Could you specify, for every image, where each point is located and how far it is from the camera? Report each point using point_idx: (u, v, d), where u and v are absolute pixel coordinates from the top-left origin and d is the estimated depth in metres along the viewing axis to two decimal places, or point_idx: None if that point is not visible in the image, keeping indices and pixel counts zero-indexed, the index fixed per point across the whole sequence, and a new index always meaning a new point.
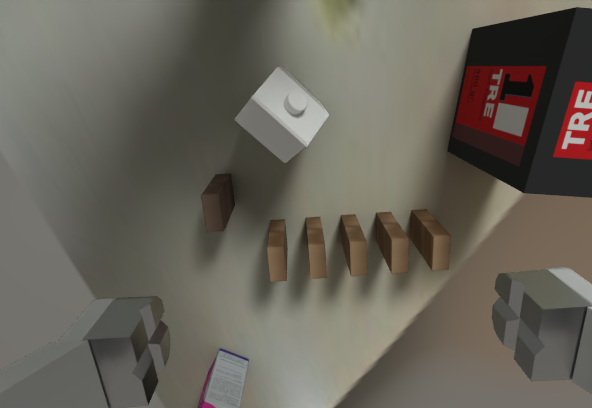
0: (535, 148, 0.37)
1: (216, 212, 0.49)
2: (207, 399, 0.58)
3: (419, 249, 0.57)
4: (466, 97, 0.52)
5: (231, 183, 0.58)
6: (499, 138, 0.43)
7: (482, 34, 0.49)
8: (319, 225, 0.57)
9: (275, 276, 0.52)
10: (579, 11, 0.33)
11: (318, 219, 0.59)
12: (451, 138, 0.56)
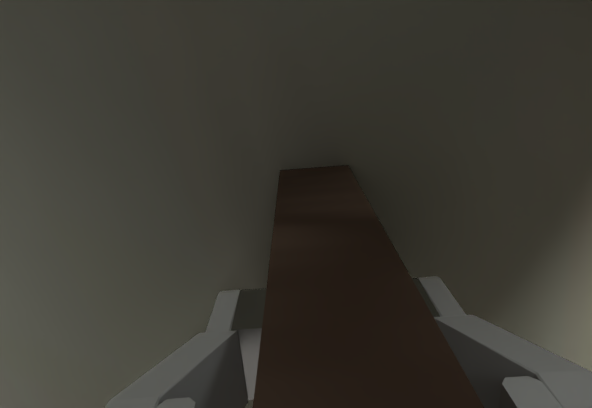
0: None
1: None
2: None
3: None
4: None
5: None
6: None
7: None
8: None
9: None
10: None
11: None
12: None
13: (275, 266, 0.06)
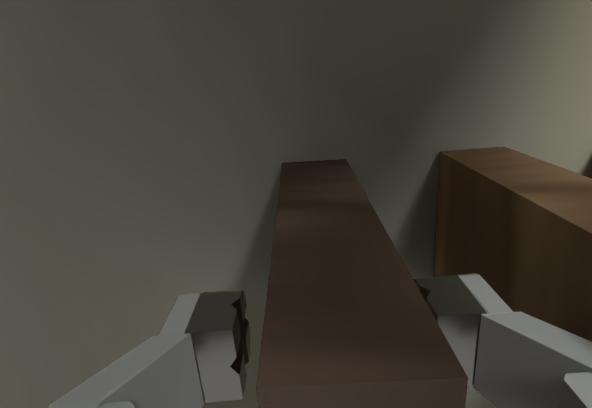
0: None
1: None
2: None
3: None
4: None
5: None
6: None
7: None
8: None
9: None
10: None
11: None
12: None
13: (279, 240, 0.07)
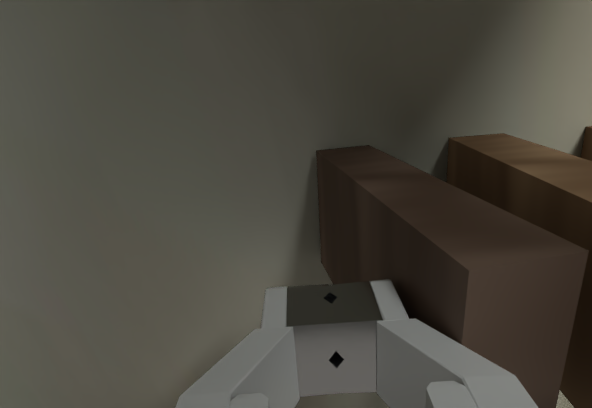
0: None
1: (536, 372, 0.07)
2: None
3: None
4: None
5: None
6: None
7: None
8: None
9: None
10: None
11: None
12: None
13: (383, 199, 0.09)
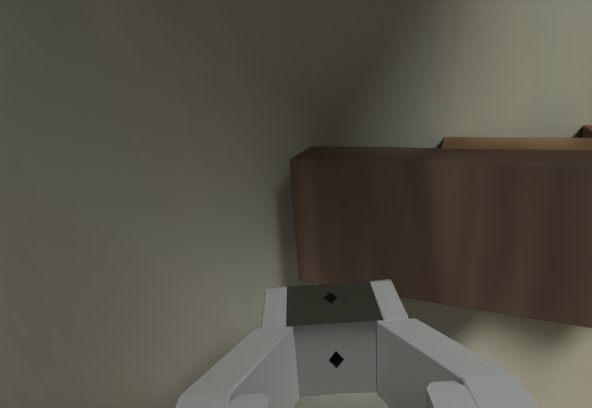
0: None
1: None
2: None
3: None
4: None
5: None
6: None
7: None
8: None
9: None
10: None
11: None
12: None
13: (487, 163, 0.11)
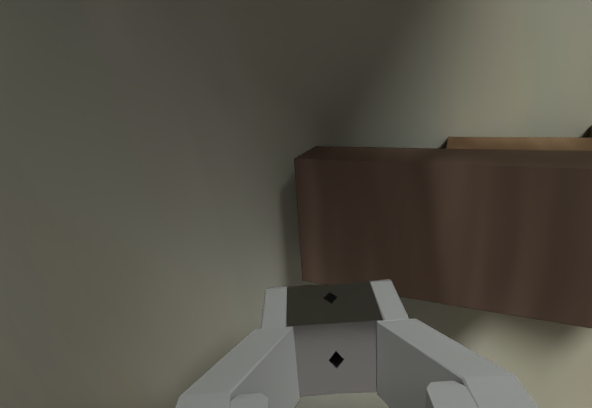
0: None
1: None
2: None
3: None
4: None
5: None
6: None
7: None
8: None
9: None
10: None
11: None
12: None
13: (492, 164, 0.11)
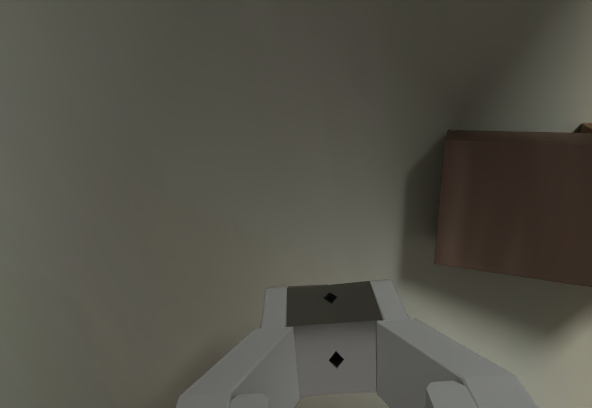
0: None
1: None
2: None
3: None
4: None
5: None
6: None
7: None
8: None
9: None
10: None
11: None
12: None
13: None
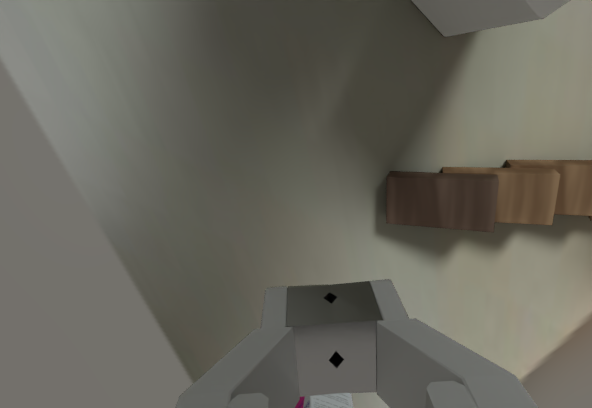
0: None
1: None
2: None
3: None
4: None
5: None
6: None
7: None
8: (545, 160, 0.39)
9: None
10: None
11: (518, 160, 0.40)
12: None
13: (455, 179, 0.36)
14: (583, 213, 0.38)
